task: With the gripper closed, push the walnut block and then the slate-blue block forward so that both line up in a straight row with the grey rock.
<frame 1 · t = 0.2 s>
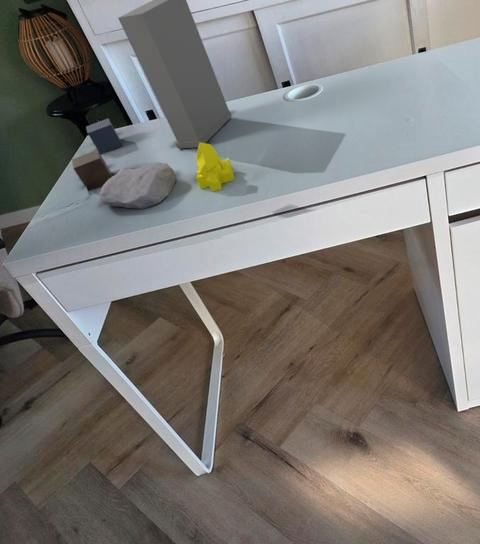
crumpled paper: (218, 180, 86), on the table
grey rock: (141, 197, 87), on the table
walnut block: (99, 181, 96), on the table
slate block: (110, 146, 109), on the table
tall grey pillar: (206, 133, 104), on the table
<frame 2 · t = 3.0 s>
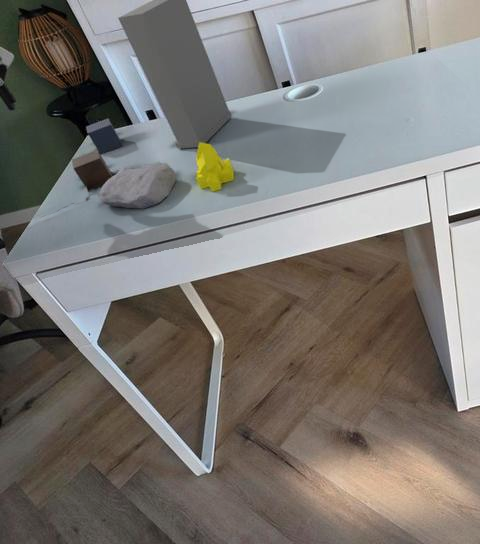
nothing on the table moved.
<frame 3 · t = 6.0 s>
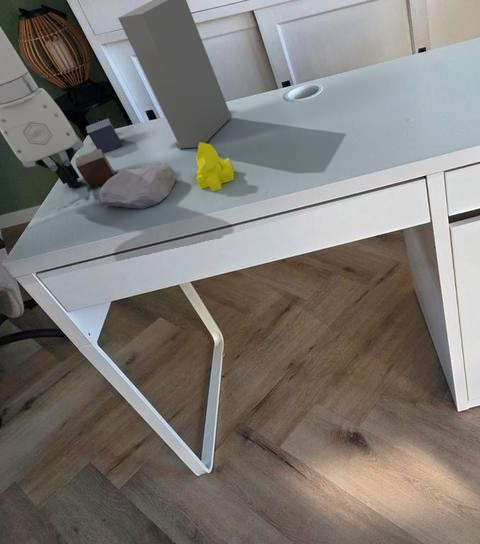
hand: (73, 183, 94), 1 cm above the table, tool pointing down, fingers closed
walnut block: (103, 180, 96), on the table, touching gripper
everything else where it was.
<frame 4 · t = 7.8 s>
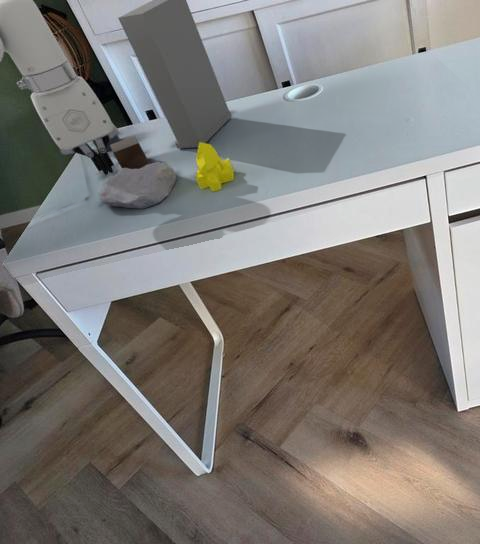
hand: (108, 171, 95), 1 cm above the table, tool pointing down, fingers closed
walnut block: (136, 166, 98), on the table
everything else where it was.
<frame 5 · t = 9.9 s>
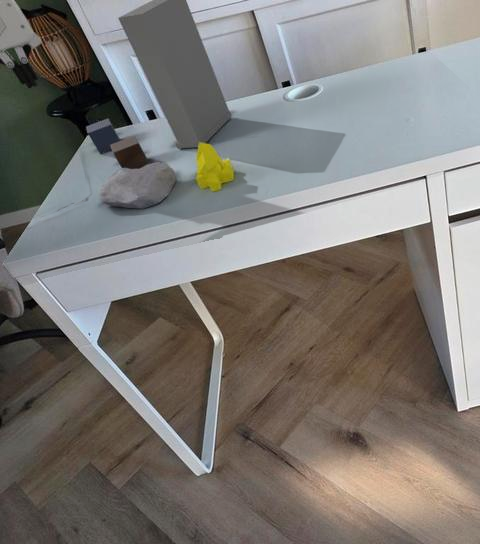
hand: (33, 85, 92), 17 cm above the table, tool pointing down, fingers closed
nothing on the table moved.
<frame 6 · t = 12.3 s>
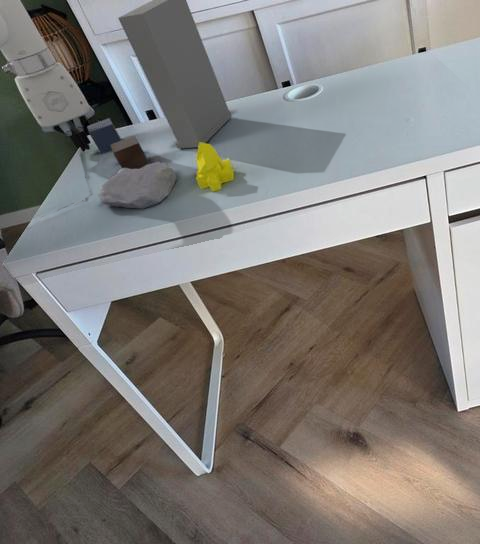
hand: (85, 148, 107), 1 cm above the table, tool pointing down, fingers closed
slate block: (111, 146, 109), on the table, touching gripper
everything else where it was.
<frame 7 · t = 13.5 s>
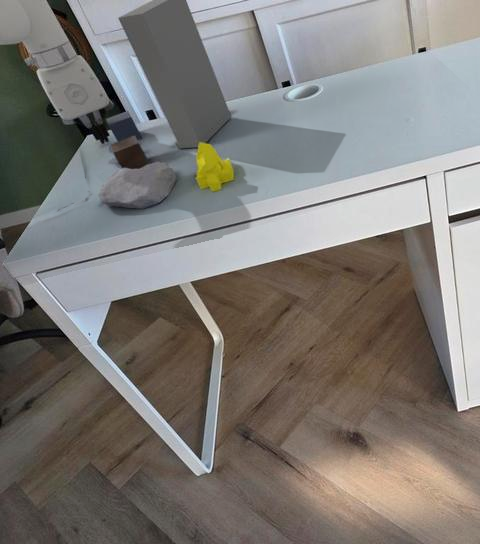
hand: (104, 140, 108), 1 cm above the table, tool pointing down, fingers closed
slate block: (129, 138, 110), on the table, touching gripper
everything else where it was.
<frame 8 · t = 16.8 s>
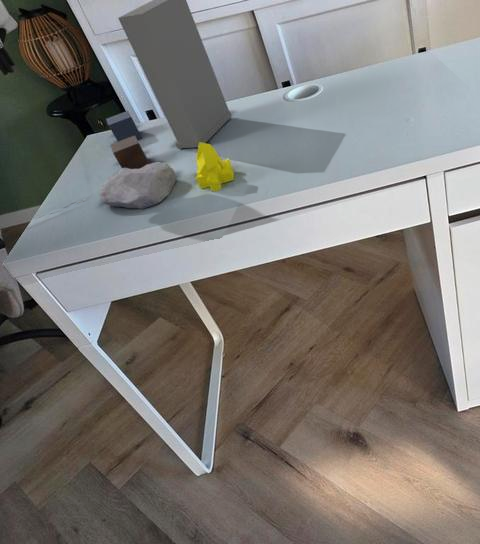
hand: (9, 72, 87), 21 cm above the table, tool pointing down, fingers closed
slate block: (129, 138, 110), on the table
everything else where it was.
at the end: walnut block 1.4 cm from the target spot on the table beside the grey rock, on the table; slate block 2.4 cm from the target spot on the table beside the grey rock, on the table; grey rock moved 0.2 cm from its start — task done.
